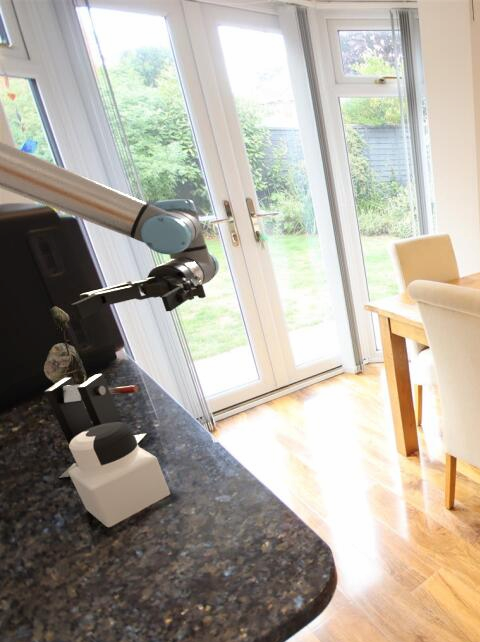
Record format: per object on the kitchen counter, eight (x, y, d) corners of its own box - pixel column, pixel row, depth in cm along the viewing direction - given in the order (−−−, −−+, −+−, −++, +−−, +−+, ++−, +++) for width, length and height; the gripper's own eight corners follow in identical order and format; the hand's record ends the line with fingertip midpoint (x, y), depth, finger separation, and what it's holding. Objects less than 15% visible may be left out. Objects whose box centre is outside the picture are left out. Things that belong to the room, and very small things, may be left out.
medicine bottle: (149, 483, 66) (119, 411, 62) (173, 499, 63) (144, 424, 58) (88, 514, 61) (50, 437, 56) (111, 534, 57) (73, 454, 53)
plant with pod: (104, 388, 96) (66, 296, 88) (111, 407, 88) (70, 307, 81) (51, 403, 90) (6, 306, 83) (54, 424, 83) (5, 319, 75)
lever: (104, 400, 76) (103, 385, 76) (138, 395, 77) (137, 381, 77) (52, 404, 65) (50, 387, 66) (92, 399, 66) (91, 383, 67)
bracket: (101, 446, 76) (68, 371, 71) (149, 439, 77) (120, 365, 72) (61, 485, 67) (20, 402, 62) (116, 477, 68) (80, 394, 63)
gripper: (243, 290, 103) (207, 320, 83) (115, 301, 98) (46, 336, 79) (234, 257, 100) (195, 280, 81) (102, 266, 95) (27, 293, 76)
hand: (121, 307), depth 80 cm, fingers open, 13 cm apart
